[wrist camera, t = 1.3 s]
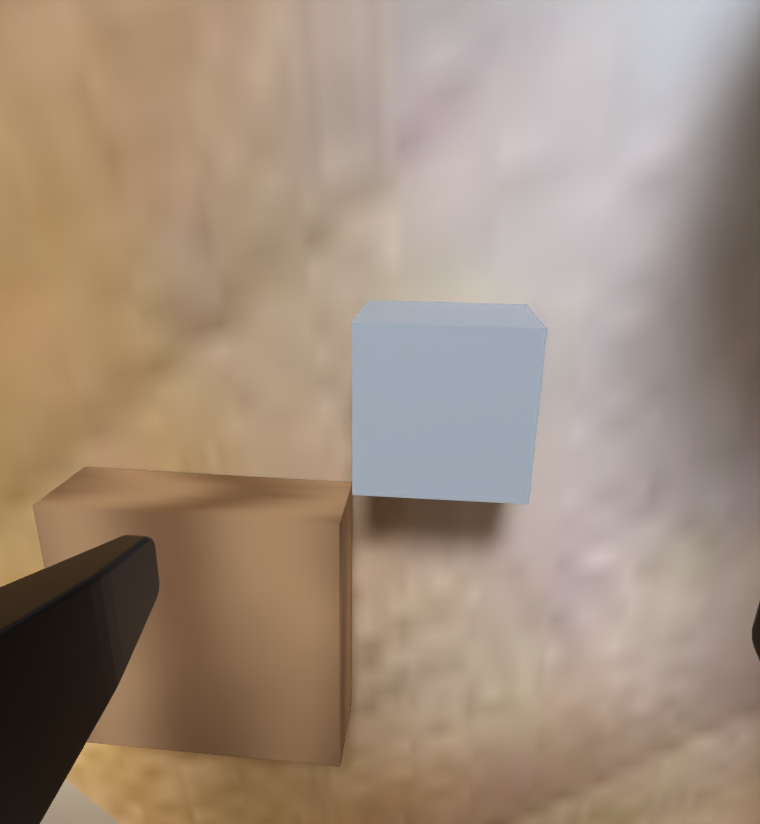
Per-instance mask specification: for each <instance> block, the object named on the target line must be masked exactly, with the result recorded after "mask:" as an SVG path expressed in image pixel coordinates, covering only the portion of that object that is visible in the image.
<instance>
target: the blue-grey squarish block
mask: <svg viewBox="0 0 760 824" xmlns="http://www.w3.org/2000/svg"><path fill="white" fill-rule="evenodd" d="M546 335H547V327H546V326H545V325H544V324H543V323H542V322H541V321H540V319H539V318H538V317H537V316H536V315H535V314H534V313H533V312H532V311H531V309H530V308H529V307H528V306H527V305H526V304H491V303H452V302H413V301H373V300H368V301H367V302H366V304H365V305H364V307H363V308H362V309H361V311H360V312H359V313H358V315H357V316H356V317H355V319H354V320H353V321H352V495H362V496H381V497H400V498H419V499H438V500H456V501H475V502H494V503H513V504H529V497H530V488H531V478H532V469H533V459H534V450H535V440H536V430H537V421H538V411H539V402H540V392H541V383H542V373H543V363H544V354H545V344H546Z"/></svg>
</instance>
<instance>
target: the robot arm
mask: <svg viewBox="0 0 760 824" xmlns="http://www.w3.org/2000/svg"><path fill="white" fill-rule="evenodd" d="M159 585H160V582H159V572H158V564H157V555H156V547H155V543H154V541H153V539H152V538H151V537H149V536H141V535H123V536H120V537H118V538H116V539H113V540H111V541H109V542H106V543H104V544H102V545H99V546H97V547H94V548H92V549H90V550H87V551H85V552H83V553H80V554H78V555H76V556H73V557H71V558H68V559H66V560H64V561H61V562H59V563H57V564H54V565H52V566H50V567H47V568H45V569H42V570H40V571H38V572H35V573H33V574H31V575H28V576H26V577H24V578H21V579H19V580H16V581H14V582H12V583H9V584H7V585H5V586H2V587H0V824H40V822H41V821H42V819H43V817H44V815H45V814H46V812H47V810H48V808H49V807H50V805H51V803H52V801H53V800H54V798H55V796H56V794H57V793H58V791H59V789H60V787H61V786H62V784H63V782H64V780H65V779H66V777H67V775H68V773H69V772H70V770H71V768H72V766H73V765H74V763H75V761H76V759H77V758H78V756H79V754H80V752H81V751H82V749H83V747H84V745H85V744H86V742H87V740H88V738H89V737H90V735H91V733H92V731H93V730H94V728H95V726H96V724H97V723H98V721H99V719H100V717H101V716H102V714H103V712H104V710H105V709H106V707H107V705H108V703H109V702H110V700H111V698H112V696H113V694H114V692H115V691H116V689H117V687H118V685H119V683H120V681H121V679H122V676H123V674H124V672H125V670H126V668H127V665H128V663H129V661H130V659H131V656H132V654H133V652H134V649H135V647H136V645H137V643H138V640H139V638H140V636H141V634H142V631H143V629H144V627H145V624H146V622H147V620H148V618H149V615H150V613H151V611H152V609H153V606H154V604H155V602H156V599H157V597H158V593H159ZM752 641H753V645H754V648H755V651H756V653H757V656H758V658H759V660H760V602H759V606H758V609H757V613H756V617H755V620H754V624H753V628H752Z"/></svg>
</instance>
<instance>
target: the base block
mask: <svg viewBox="0 0 760 824" xmlns="http://www.w3.org/2000/svg"><path fill="white" fill-rule="evenodd" d="M33 510H34V515H35V520H36V526H37V531H38V536H39V541H40V546H41V551H42V557H43V562H44V567H45V568H47V567H50V566H52V565H54V564H57V563H59V562H61V561H64V560H66V559H68V558H71V557H73V556H76V555H78V554H80V553H83V552H85V551H87V550H90V549H92V548H94V547H97V546H99V545H102V544H104V543H106V542H109V541H111V540H113V539H116V538H118V537H120V536H123V535H141V536H149V537H151V538H152V539H153V541H154V543H155V547H156V555H157V564H158V572H159V582H160V585H159V593H158V597H157V599H156V602H155V604H154V606H153V609H152V611H151V613H150V615H149V618H148V620H147V622H146V624H145V627H144V629H143V631H142V634H141V636H140V638H139V640H138V643H137V645H136V647H135V649H134V652H133V654H132V656H131V659H130V661H129V663H128V665H127V668H126V670H125V672H124V674H123V676H122V679H121V681H120V683H119V685H118V687H117V689H116V691H115V692H114V694H113V696H112V698H111V700H110V702H109V703H108V705H107V707H106V709H105V710H104V712H103V714H102V716H101V717H100V719H99V721H98V723H97V724H96V726H95V728H94V730H93V731H92V733H91V735H90V737H89V738H88V740H87V742H89V743H99V744H110V745H120V746H131V747H141V748H152V749H162V750H173V751H183V752H193V753H204V754H214V755H225V756H235V757H246V758H256V759H267V760H277V761H288V762H298V763H308V764H319V765H329V766H340V764H341V758H342V753H343V747H344V741H345V735H346V729H347V724H348V718H349V712H350V706H351V642H352V483H350V482H332V481H315V480H298V479H281V478H263V477H246V476H229V475H211V474H194V473H177V472H159V471H142V470H125V469H107V468H90V467H84V468H83V469H81V470H80V471H79V472H77V473H76V474H74V475H73V476H72V477H70V478H69V479H68V480H66V481H65V482H64V483H62V484H61V485H60V486H58V487H57V488H56V489H54V490H53V491H52V492H50V493H49V494H48V495H46V496H45V497H44V498H42V499H41V500H39V501H38V502H37V503H35V504H34V505H33Z"/></svg>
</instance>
